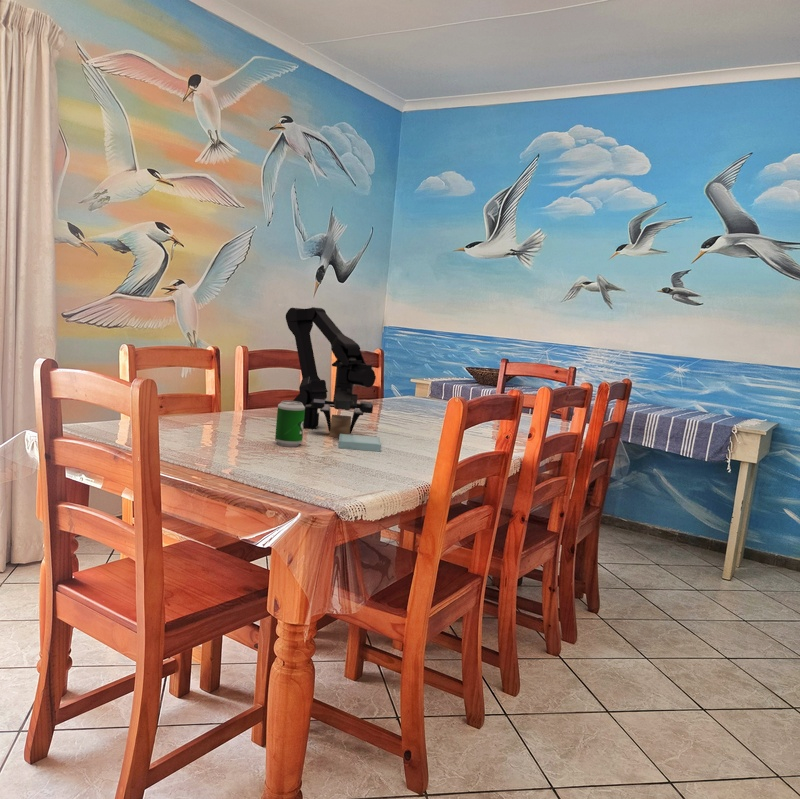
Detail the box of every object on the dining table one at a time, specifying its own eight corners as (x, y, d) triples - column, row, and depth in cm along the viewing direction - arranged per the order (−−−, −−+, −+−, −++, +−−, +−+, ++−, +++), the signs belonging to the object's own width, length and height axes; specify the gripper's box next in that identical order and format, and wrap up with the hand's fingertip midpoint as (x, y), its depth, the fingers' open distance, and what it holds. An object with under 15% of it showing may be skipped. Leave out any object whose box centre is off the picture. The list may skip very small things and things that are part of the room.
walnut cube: (329, 436, 212) (331, 417, 211) (330, 433, 218) (332, 414, 217) (349, 438, 213) (351, 419, 212) (349, 434, 219) (351, 416, 218)
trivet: (338, 448, 197) (338, 440, 196) (339, 440, 208) (339, 433, 208) (380, 451, 197) (381, 444, 197) (378, 443, 209) (379, 436, 209)
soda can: (296, 448, 190) (300, 405, 189) (270, 444, 191) (274, 402, 190) (305, 444, 197) (309, 402, 196) (280, 440, 199) (283, 399, 197)
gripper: (312, 382, 205) (308, 434, 207) (375, 388, 206) (370, 440, 208) (314, 378, 216) (310, 428, 218) (374, 384, 217) (369, 433, 219)
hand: (339, 432), depth 215 cm, fingers closed on walnut cube, 6 cm apart
